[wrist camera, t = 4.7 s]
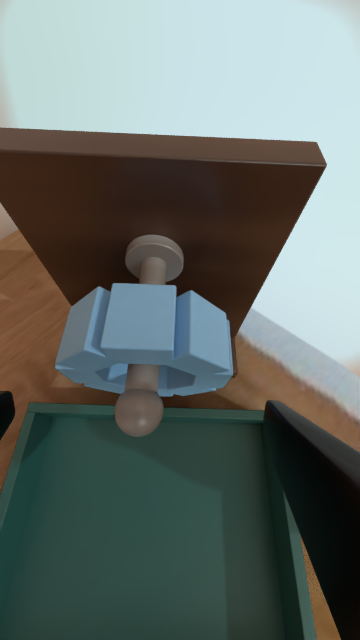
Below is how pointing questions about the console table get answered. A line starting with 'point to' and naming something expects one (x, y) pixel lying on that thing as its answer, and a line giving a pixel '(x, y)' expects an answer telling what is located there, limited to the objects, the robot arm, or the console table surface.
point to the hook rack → (156, 220)
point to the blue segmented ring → (146, 339)
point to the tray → (148, 531)
